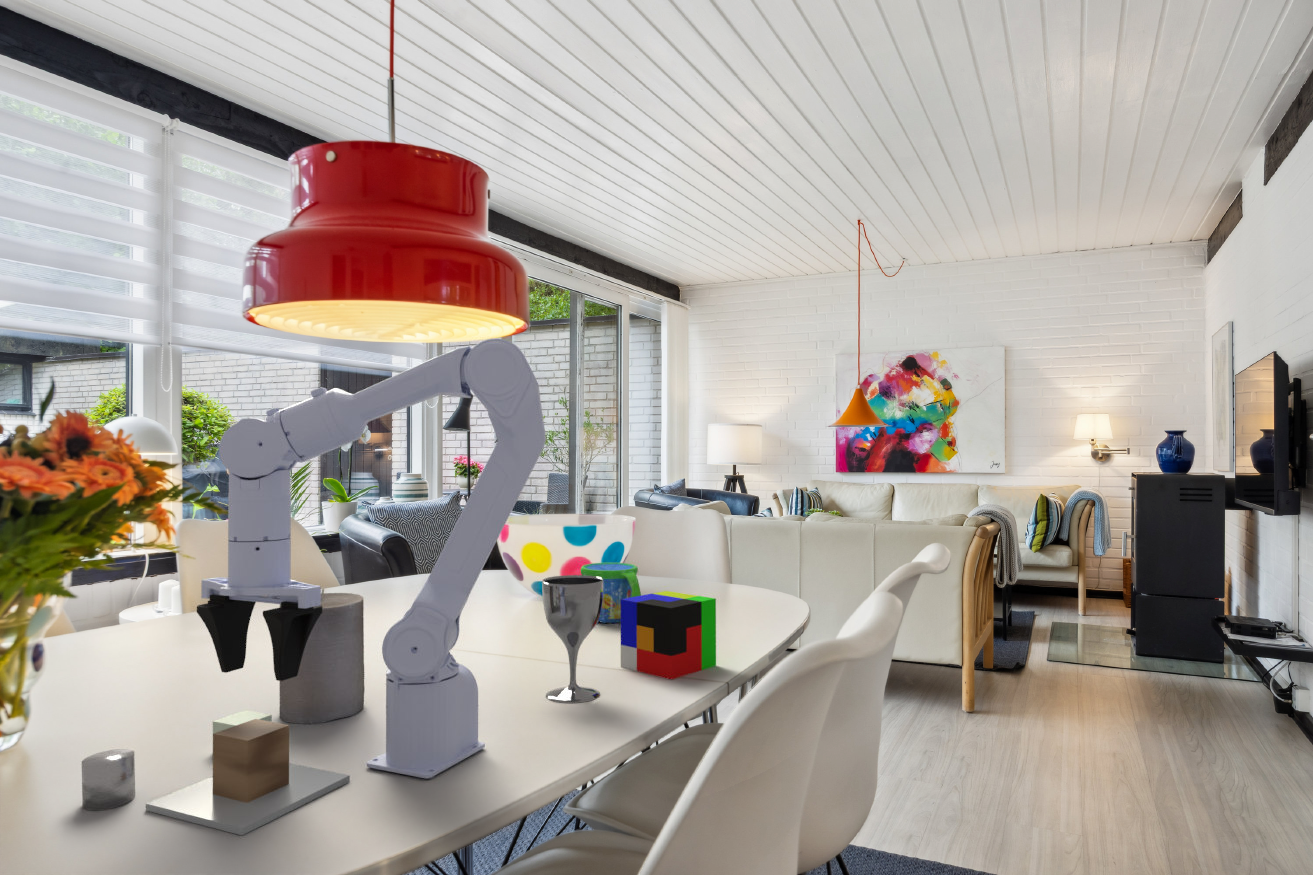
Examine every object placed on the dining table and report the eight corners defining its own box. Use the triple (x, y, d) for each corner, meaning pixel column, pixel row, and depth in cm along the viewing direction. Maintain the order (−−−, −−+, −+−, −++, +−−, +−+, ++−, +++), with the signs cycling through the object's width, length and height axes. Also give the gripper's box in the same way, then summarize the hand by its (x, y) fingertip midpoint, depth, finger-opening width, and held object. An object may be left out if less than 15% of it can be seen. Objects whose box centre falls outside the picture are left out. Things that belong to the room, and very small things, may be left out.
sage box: (245, 741, 90) (245, 709, 90) (271, 746, 88) (271, 714, 88) (212, 754, 86) (212, 721, 86) (239, 759, 84) (239, 726, 85)
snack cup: (656, 623, 150) (656, 568, 151) (609, 630, 144) (609, 573, 144) (609, 610, 163) (609, 559, 163) (563, 616, 157) (563, 563, 157)
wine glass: (535, 690, 108) (535, 577, 109) (592, 683, 112) (591, 573, 112) (551, 707, 101) (551, 586, 101) (612, 699, 104) (611, 582, 105)
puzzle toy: (620, 667, 120) (620, 599, 120) (666, 654, 128) (665, 590, 128) (671, 679, 113) (670, 608, 114) (716, 666, 121) (715, 598, 121)
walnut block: (255, 776, 78) (255, 718, 78) (288, 783, 76) (289, 725, 77) (212, 793, 74) (213, 733, 74) (247, 802, 72) (247, 740, 72)
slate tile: (260, 762, 83) (259, 756, 83) (349, 781, 79) (349, 775, 79) (145, 810, 72) (145, 803, 72) (242, 835, 68) (242, 827, 68)
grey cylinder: (123, 787, 77) (123, 745, 77) (143, 797, 75) (142, 754, 75) (75, 803, 74) (73, 759, 74) (93, 814, 72) (92, 769, 72)
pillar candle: (302, 698, 105) (301, 582, 105) (376, 698, 105) (376, 582, 105) (263, 725, 95) (262, 597, 95) (345, 725, 95) (344, 596, 95)
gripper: (174, 540, 82) (173, 676, 81) (279, 546, 76) (279, 692, 76) (235, 533, 88) (234, 659, 88) (337, 538, 82) (336, 673, 82)
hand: (259, 673), depth 82 cm, fingers open, 7 cm apart
